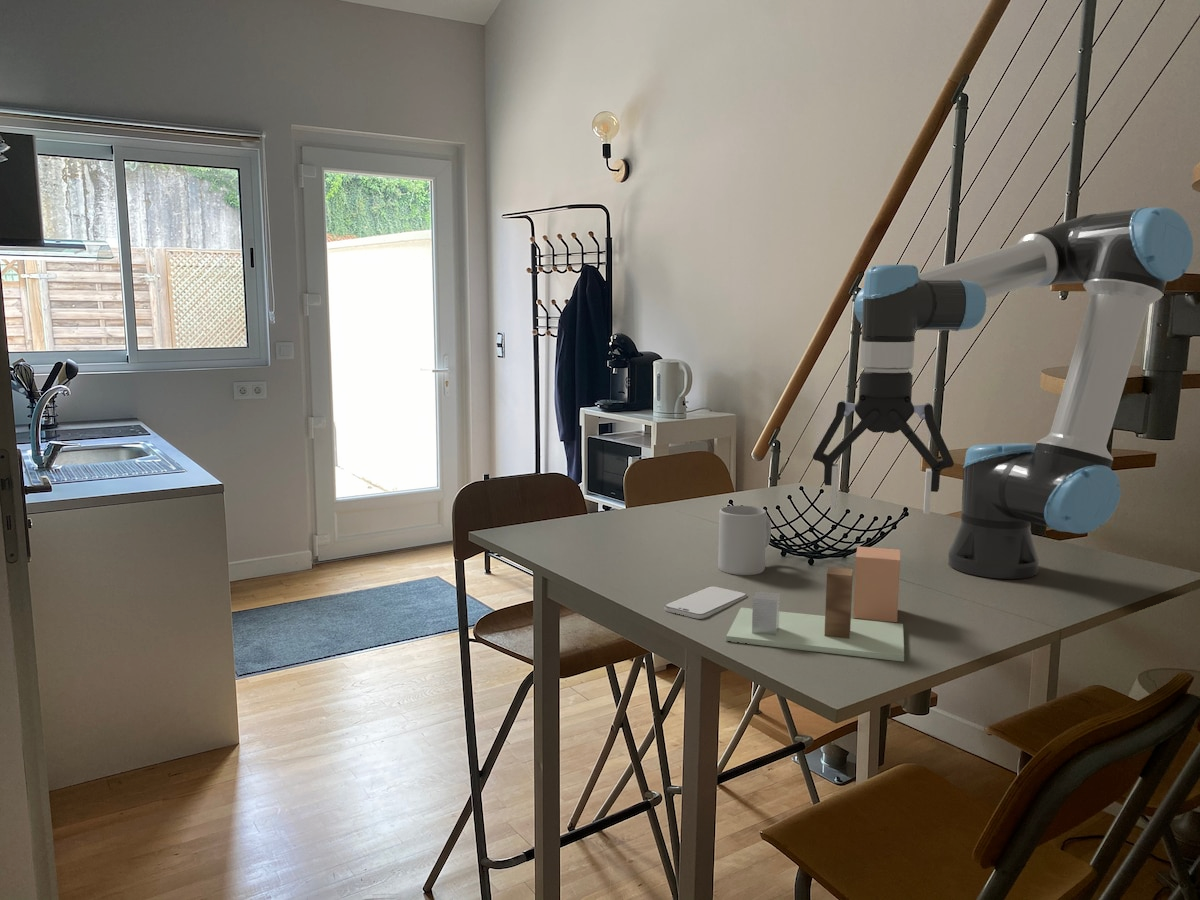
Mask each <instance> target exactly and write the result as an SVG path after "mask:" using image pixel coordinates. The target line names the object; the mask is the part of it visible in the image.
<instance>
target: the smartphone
mask: <svg viewBox="0 0 1200 900" xmlns="http://www.w3.org/2000/svg"><path fill="white" fill-rule="evenodd" d="M746 598H747V594H746V593H745V592H742V591H736V590H733V589H728V588H723V587H720V586H719V587H718V586H708V587H705V588H702V589H700V590H697V591H695V592H692V593H690V594H688V595H685V596H682V597H679V598H678V599H675V600H672V601H670V602H668V603H666V604H664V611H665V612H668V613H672V614H675V613H676V615H679V614H680V616H683V615H684V617H688V618H693V619H698V620H701V619H702V620H703V619H706V618H708V617H710V616H712V615H714V614H716V613H718V612H720V611H723V610H724V609H726V608H728V607H730V606H733V605H734V604H736V603H737V602H740V601H741V600H743V599H746Z"/></svg>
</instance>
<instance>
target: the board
mask: <svg viewBox="0 0 1200 900" xmlns="http://www.w3.org/2000/svg"><path fill="white" fill-rule="evenodd" d="M752 612H753V608H752V607H751V608H750V607H749V608H748V607H740V608H739V610H738V612H737V614H736V616H735V618H734V620H733V622H732V623H731V626H730V627H729V629H728V632H727V634H726V637H725V642H728V641H731V642H730V643H737V642H739V643H738V644H745V643H747V644H748V645H756V646H765V647H773V648H781V649H782V648H783V649H789V650H800V651H808V652H819V653H826V654H835V655H843V656H851V657H852V656H853V657H859V658H870V659H879V660H886V661H894V662H895V661H896V662H905V644H904V643H905V639H904V623H898V622H888V621H878V620H868V619H858V618H851V626H850V637H849V639H847V638H838V637H829V636H824V635H825V615H818V614H808V613H799V612H790V611H789V612H787V611H780V610H779V628H778V631H777V634H776V636H774V635H765V634H756V633H752ZM747 644H746V645H747Z"/></svg>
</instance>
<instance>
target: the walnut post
mask: <svg viewBox="0 0 1200 900" xmlns="http://www.w3.org/2000/svg"><path fill="white" fill-rule="evenodd" d="M853 576H854V569H852V568H846V567H845V568H843V567H831V566H828V568H827V571H826V585H825V587H826V589H825V612H824V613H825V614H824V616H825V635H824V636H829V637H838V638H847V639H849V637H850V626H851V619H852V601H853V598H852V597H853V595H852V594H853V578H854V577H853Z"/></svg>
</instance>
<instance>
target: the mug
mask: <svg viewBox="0 0 1200 900" xmlns="http://www.w3.org/2000/svg"><path fill="white" fill-rule="evenodd" d="M718 513H719V516H718V517H719V518H718V519H719V521H718V555H717V556H718V557H717V561H718V562H717V567H718V569H719V570H720V571H721V572H722V573H725V574H730V575H735V576H736V575H737V576H753V575H754V576H755V575H758V574H762V573H764V571H765V570H766V548H768V546H769V545H770V541H771V534H772V524H771V519H770V517H769V516H768V515H767V511H766V509H764V508H762V507H757V506H753V505H728V506H723V507H721V508H720V509H719V512H718Z"/></svg>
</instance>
